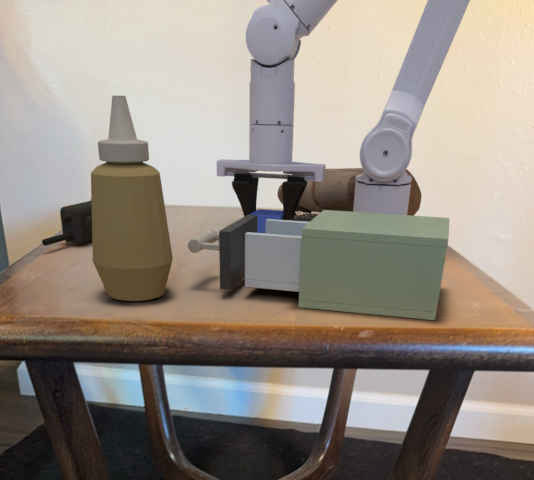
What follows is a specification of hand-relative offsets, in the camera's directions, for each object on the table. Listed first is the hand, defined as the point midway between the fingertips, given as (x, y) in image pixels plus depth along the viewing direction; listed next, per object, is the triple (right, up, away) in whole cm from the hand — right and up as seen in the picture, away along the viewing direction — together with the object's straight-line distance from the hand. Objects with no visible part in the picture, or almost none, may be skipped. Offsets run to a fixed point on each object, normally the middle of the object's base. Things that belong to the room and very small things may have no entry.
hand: (269, 235), depth 88 cm
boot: (+21, +12, +13) cm, 27 cm away
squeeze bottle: (-14, -15, -22) cm, 30 cm away
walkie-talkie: (-23, +4, +4) cm, 24 cm away
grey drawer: (0, -12, -19) cm, 23 cm away
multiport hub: (+8, +3, +8) cm, 12 cm away
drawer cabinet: (+11, -15, -21) cm, 28 cm away
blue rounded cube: (0, -1, +1) cm, 1 cm away
